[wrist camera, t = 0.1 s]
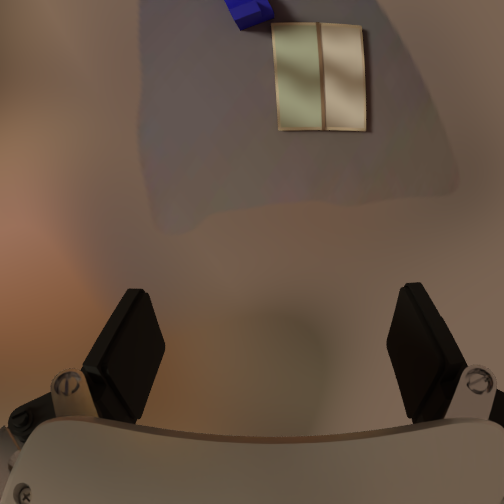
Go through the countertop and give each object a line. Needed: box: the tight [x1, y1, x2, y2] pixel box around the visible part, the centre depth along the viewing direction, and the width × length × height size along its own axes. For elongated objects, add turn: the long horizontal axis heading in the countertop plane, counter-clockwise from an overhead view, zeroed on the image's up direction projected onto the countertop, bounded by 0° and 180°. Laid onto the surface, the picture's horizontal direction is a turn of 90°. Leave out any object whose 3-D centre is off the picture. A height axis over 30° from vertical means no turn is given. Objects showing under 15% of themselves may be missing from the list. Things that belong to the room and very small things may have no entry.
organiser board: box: [271, 22, 366, 131], centre depth 32 cm, size 14×11×2 cm
